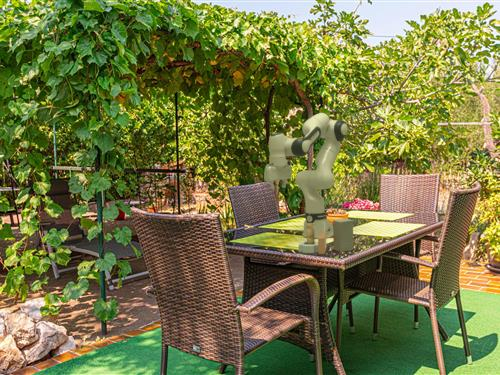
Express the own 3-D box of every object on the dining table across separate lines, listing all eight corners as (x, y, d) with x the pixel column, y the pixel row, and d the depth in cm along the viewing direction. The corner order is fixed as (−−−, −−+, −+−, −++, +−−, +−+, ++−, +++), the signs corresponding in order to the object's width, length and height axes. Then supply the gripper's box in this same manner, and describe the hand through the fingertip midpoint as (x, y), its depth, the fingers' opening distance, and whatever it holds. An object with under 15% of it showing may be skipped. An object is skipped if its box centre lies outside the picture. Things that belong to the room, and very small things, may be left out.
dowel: (309, 249, 262) (309, 222, 261) (316, 250, 259) (315, 223, 258) (305, 251, 259) (304, 223, 258) (311, 251, 256) (311, 224, 255)
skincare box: (346, 248, 262) (346, 218, 261) (354, 251, 256) (354, 219, 255) (332, 250, 259) (332, 219, 258) (340, 252, 253) (339, 221, 251)
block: (298, 252, 253) (298, 245, 253) (300, 247, 267) (300, 240, 267) (318, 253, 251) (318, 246, 251) (320, 247, 265) (320, 241, 265)
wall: (318, 254, 249) (318, 238, 249) (320, 247, 267) (320, 232, 266) (324, 254, 249) (324, 238, 248) (326, 247, 266) (326, 232, 266)
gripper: (270, 163, 265) (271, 190, 266) (293, 161, 280) (294, 187, 281) (260, 164, 269) (261, 190, 270) (284, 162, 284) (285, 186, 285)
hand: (278, 188), depth 276 cm, fingers open, 8 cm apart
